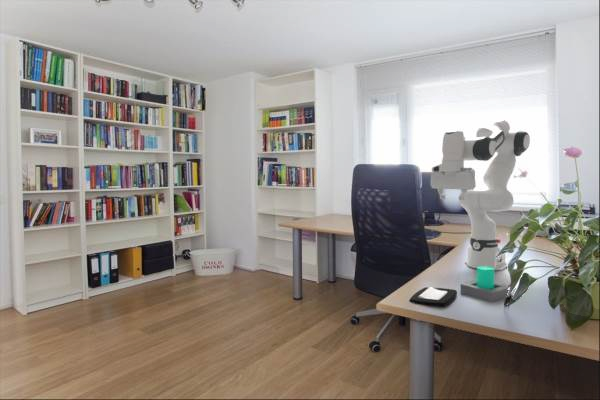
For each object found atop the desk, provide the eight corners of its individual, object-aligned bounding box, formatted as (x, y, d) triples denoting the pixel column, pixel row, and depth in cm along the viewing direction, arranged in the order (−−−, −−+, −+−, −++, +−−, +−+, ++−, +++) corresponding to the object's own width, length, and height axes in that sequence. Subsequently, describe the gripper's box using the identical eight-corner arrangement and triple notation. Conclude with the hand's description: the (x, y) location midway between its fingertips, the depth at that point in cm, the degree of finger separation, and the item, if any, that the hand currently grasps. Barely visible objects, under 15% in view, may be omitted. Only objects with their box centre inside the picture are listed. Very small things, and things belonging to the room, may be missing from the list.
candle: (496, 296, 144) (498, 265, 143) (481, 297, 144) (482, 265, 143) (488, 291, 150) (489, 261, 149) (473, 292, 150) (474, 262, 149)
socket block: (479, 287, 156) (479, 278, 156) (511, 295, 145) (512, 286, 145) (460, 292, 149) (460, 283, 149) (492, 302, 138) (492, 292, 138)
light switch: (423, 284, 155) (459, 287, 147) (423, 291, 155) (459, 294, 147) (405, 297, 139) (445, 301, 131) (406, 305, 139) (445, 309, 131)
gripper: (479, 167, 158) (478, 200, 159) (437, 168, 175) (436, 198, 176) (470, 167, 154) (469, 201, 155) (428, 168, 171) (427, 198, 172)
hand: (451, 199), depth 166 cm, fingers open, 8 cm apart
